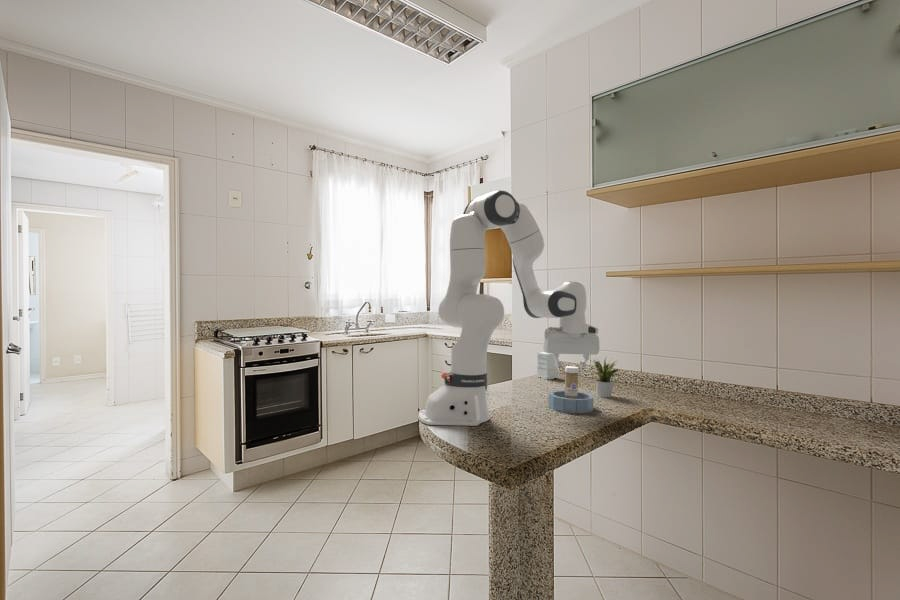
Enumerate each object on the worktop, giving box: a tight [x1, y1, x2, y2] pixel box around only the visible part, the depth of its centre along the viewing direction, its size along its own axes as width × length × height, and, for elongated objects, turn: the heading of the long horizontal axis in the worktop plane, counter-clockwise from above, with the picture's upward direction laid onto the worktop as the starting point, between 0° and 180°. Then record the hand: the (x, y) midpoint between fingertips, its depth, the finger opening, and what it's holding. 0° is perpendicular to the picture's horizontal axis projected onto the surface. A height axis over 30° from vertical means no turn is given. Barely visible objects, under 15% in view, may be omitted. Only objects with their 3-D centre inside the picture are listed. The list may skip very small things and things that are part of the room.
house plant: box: [588, 355, 620, 399], centre depth 169 cm, size 14×14×16 cm
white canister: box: [536, 351, 559, 380], centre depth 208 cm, size 7×7×13 cm
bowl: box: [548, 389, 594, 414], centre depth 149 cm, size 15×15×4 cm
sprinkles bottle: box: [564, 365, 579, 399], centre depth 149 cm, size 5×5×14 cm
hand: (570, 366), depth 149 cm, fingers open, 8 cm apart
